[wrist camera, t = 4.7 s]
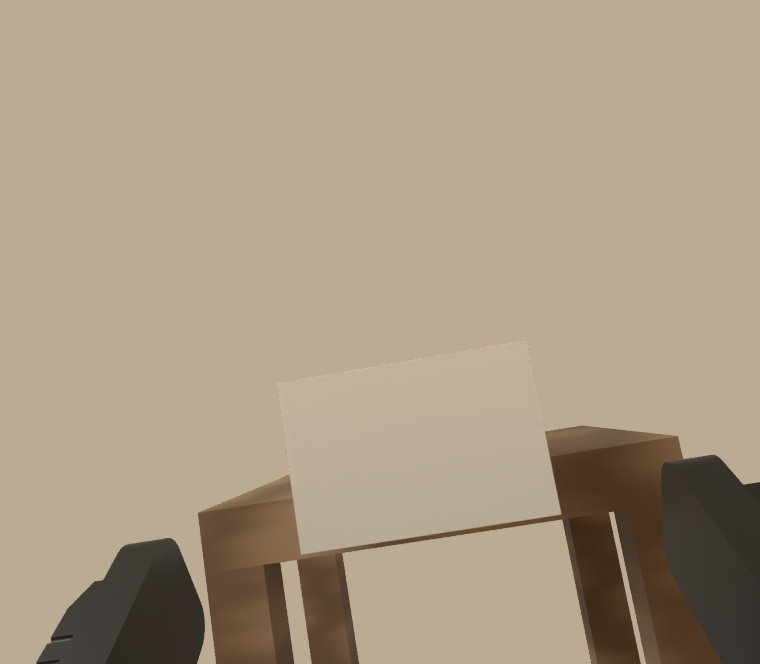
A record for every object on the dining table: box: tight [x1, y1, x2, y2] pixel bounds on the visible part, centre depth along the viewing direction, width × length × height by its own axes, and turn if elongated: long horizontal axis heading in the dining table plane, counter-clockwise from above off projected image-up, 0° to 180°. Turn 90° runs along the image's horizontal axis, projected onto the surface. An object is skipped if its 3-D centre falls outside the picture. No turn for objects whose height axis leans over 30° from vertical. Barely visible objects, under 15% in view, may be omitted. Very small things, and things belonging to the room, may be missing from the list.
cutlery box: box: [277, 340, 561, 555], centre depth 24 cm, size 4×26×3 cm, turn 175°
